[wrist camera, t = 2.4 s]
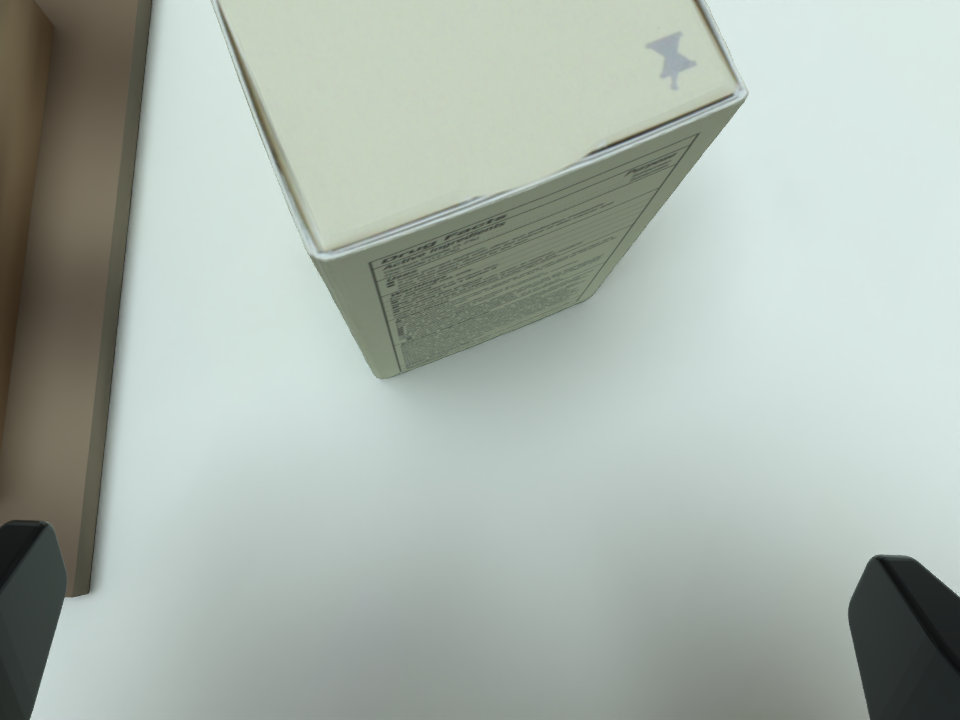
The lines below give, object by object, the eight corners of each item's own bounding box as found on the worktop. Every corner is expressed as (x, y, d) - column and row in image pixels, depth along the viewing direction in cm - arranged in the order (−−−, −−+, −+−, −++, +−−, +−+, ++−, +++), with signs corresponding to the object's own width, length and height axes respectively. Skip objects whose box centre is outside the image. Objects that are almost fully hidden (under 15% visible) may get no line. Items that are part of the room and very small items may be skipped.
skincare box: (531, 154, 24) (632, -195, 12) (597, 305, 24) (772, 93, 12) (308, 238, 24) (186, -47, 12) (371, 395, 23) (312, 268, 11)
